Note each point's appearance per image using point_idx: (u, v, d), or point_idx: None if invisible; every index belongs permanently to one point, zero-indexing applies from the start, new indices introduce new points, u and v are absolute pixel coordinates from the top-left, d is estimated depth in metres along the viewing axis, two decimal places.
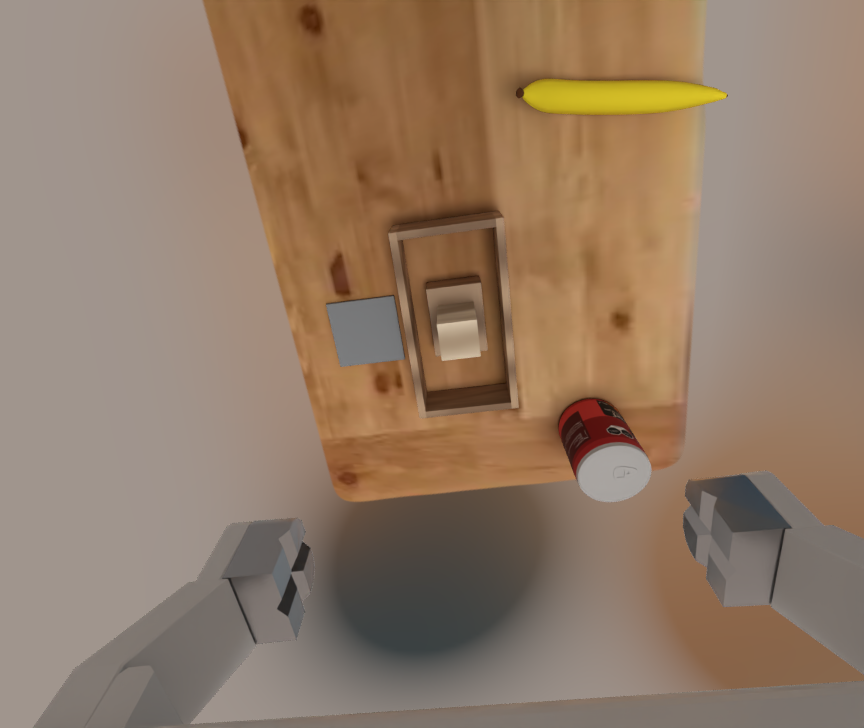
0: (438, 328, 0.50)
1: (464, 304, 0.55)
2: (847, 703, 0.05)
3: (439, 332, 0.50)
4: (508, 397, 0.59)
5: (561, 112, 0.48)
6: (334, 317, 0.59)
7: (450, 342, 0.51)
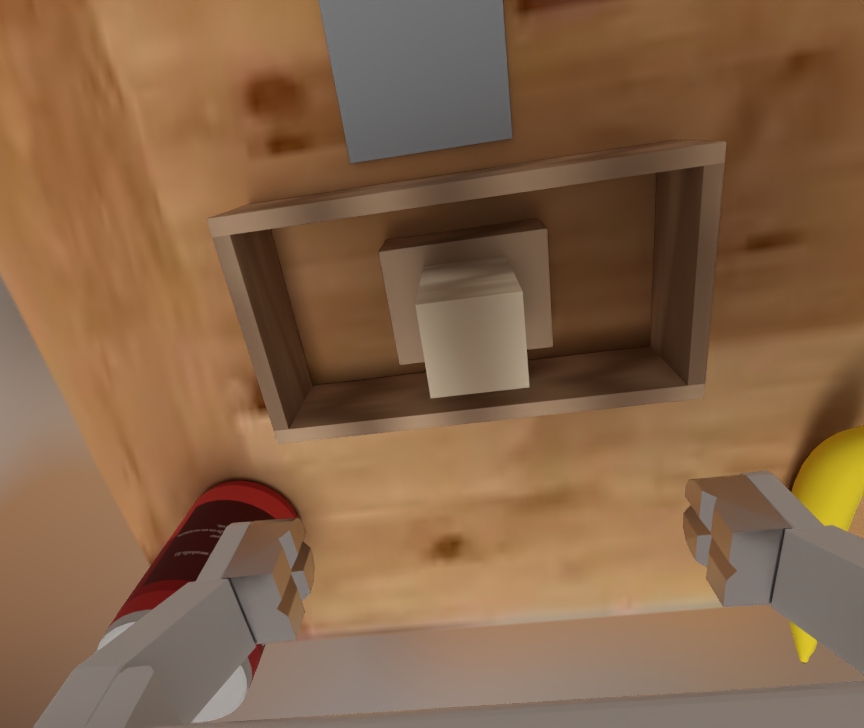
0: (510, 295, 0.19)
1: None
2: (847, 703, 0.05)
3: (499, 298, 0.19)
4: (294, 414, 0.27)
5: (829, 458, 0.29)
6: None
7: (469, 326, 0.19)
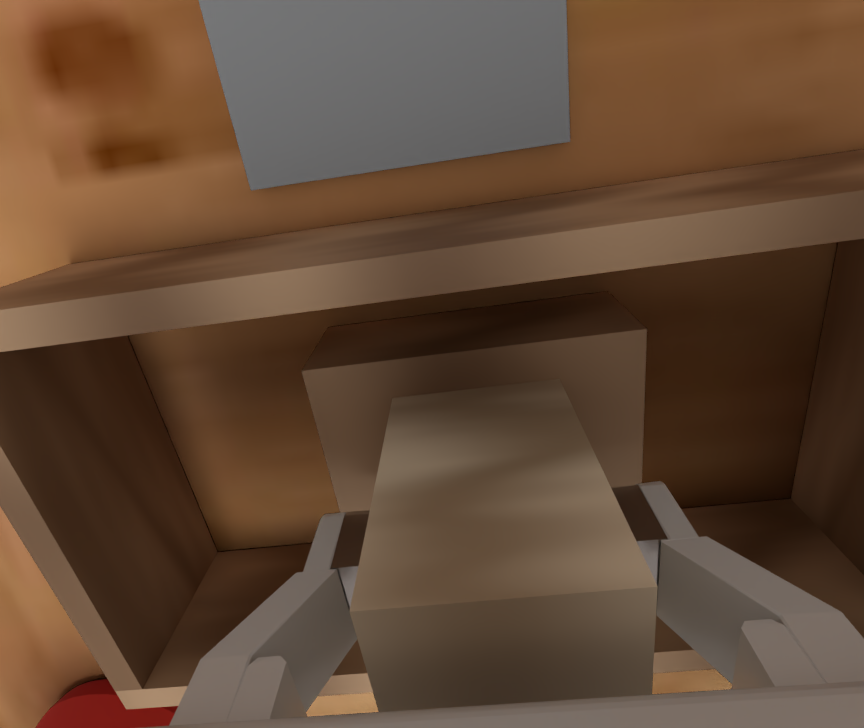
0: (622, 596, 0.06)
1: None
2: (847, 703, 0.05)
3: (588, 601, 0.07)
4: (163, 642, 0.15)
5: None
6: None
7: (501, 657, 0.07)
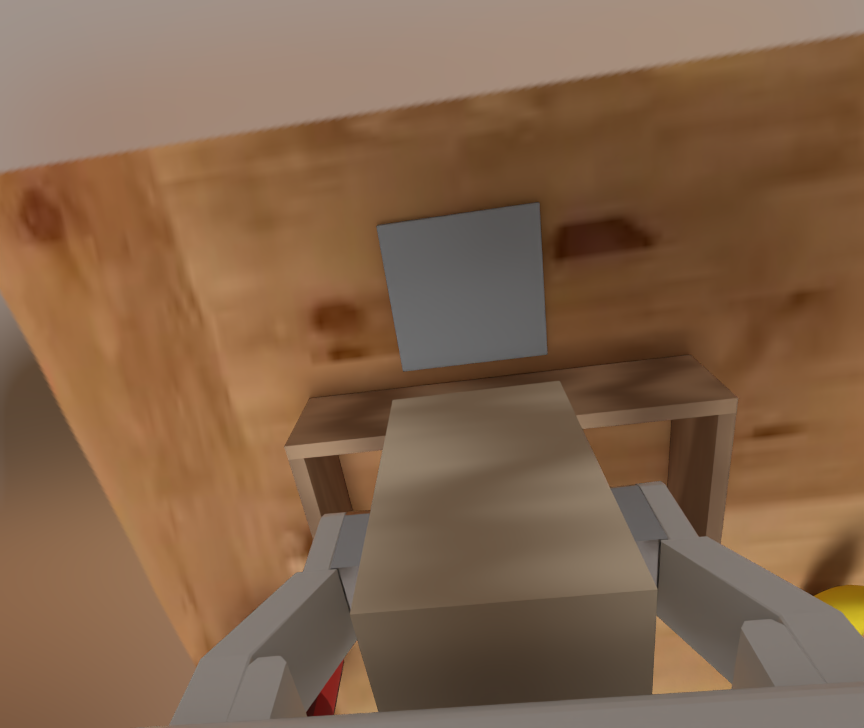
0: (622, 599, 0.06)
1: None
2: (846, 703, 0.05)
3: (588, 604, 0.07)
4: None
5: None
6: (505, 221, 0.25)
7: (501, 659, 0.07)
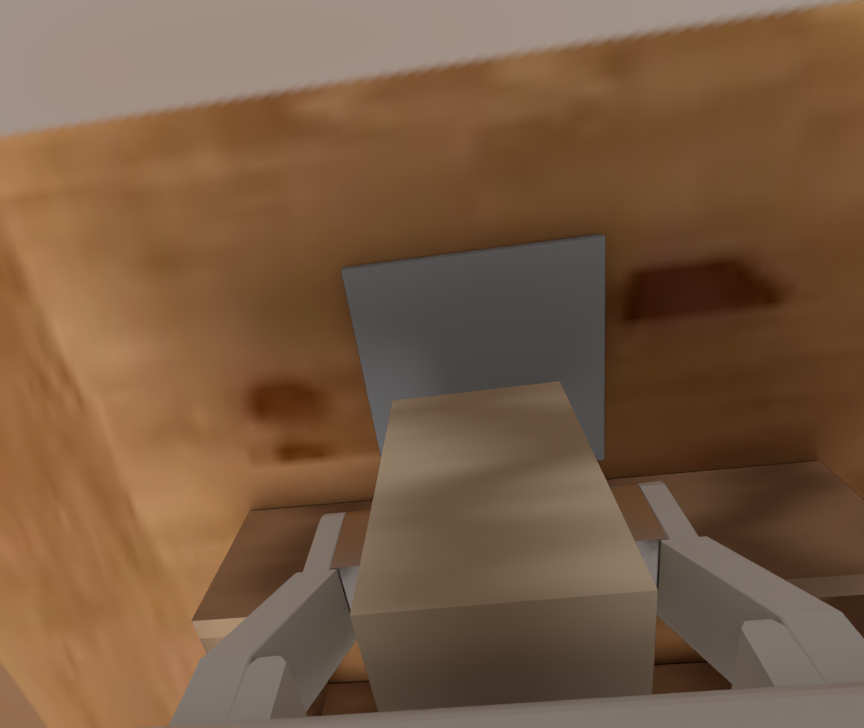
0: (622, 600, 0.06)
1: None
2: (847, 703, 0.05)
3: (588, 605, 0.07)
4: None
5: None
6: (548, 264, 0.15)
7: (501, 660, 0.07)
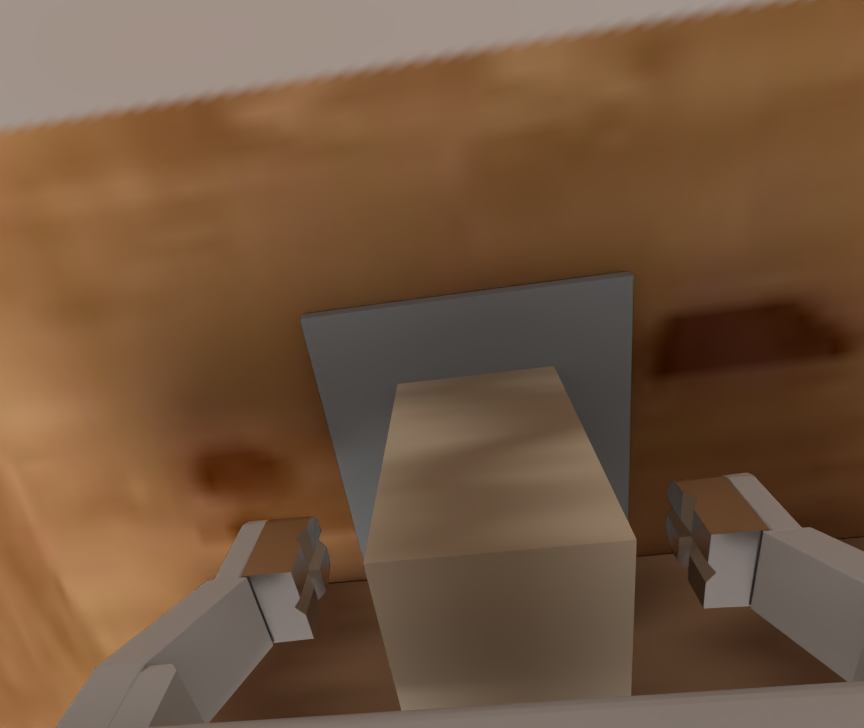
0: (605, 549, 0.07)
1: None
2: (848, 703, 0.05)
3: (575, 554, 0.07)
4: None
5: None
6: (561, 310, 0.12)
7: (497, 606, 0.08)
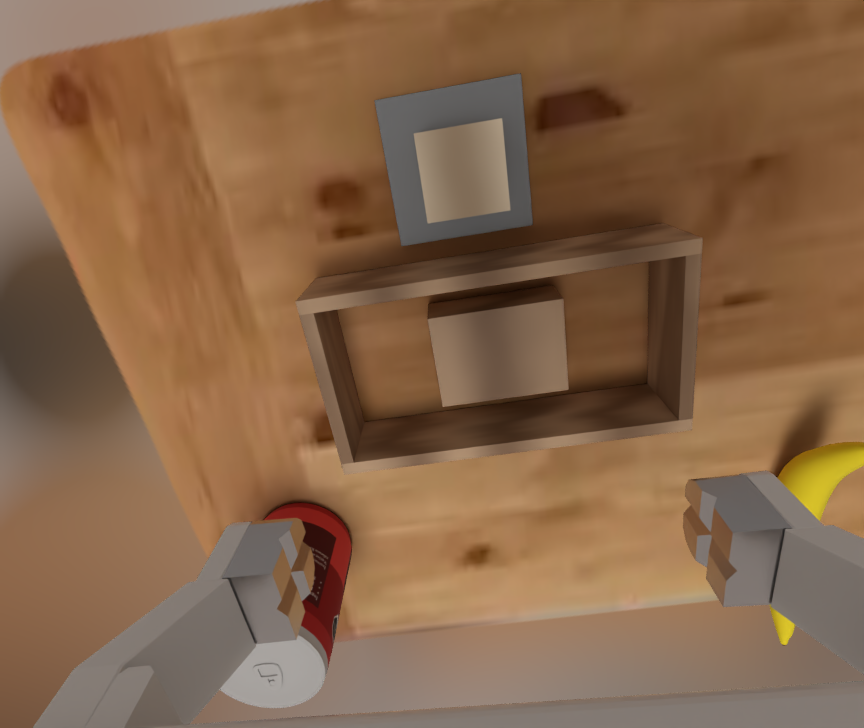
0: (492, 122, 0.22)
1: None
2: (846, 703, 0.05)
3: (482, 125, 0.22)
4: (356, 449, 0.33)
5: (797, 473, 0.35)
6: (491, 92, 0.27)
7: (459, 152, 0.23)
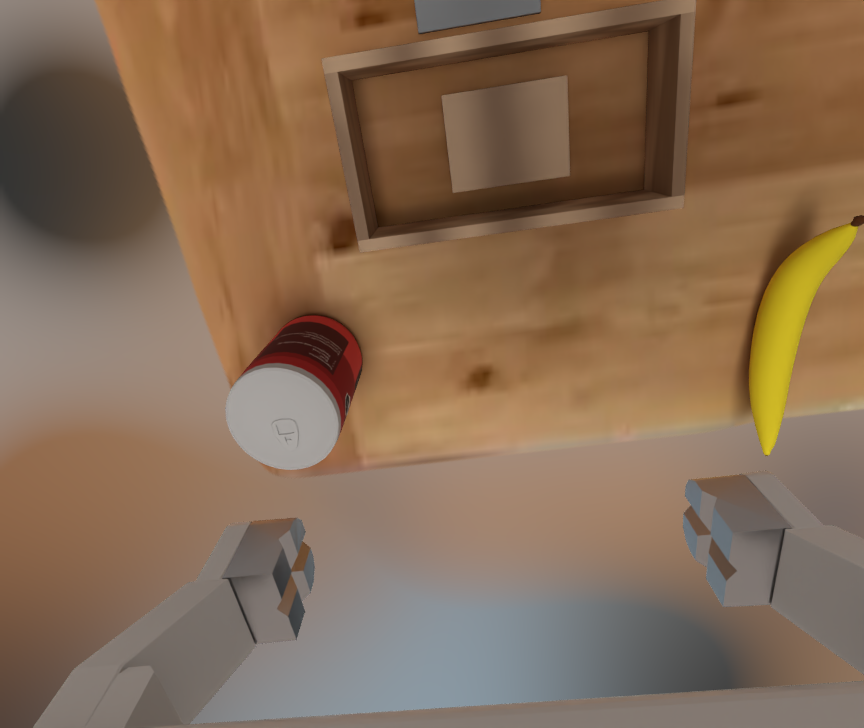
0: None
1: None
2: (846, 702, 0.05)
3: None
4: (371, 233, 0.35)
5: (782, 276, 0.37)
6: None
7: None
